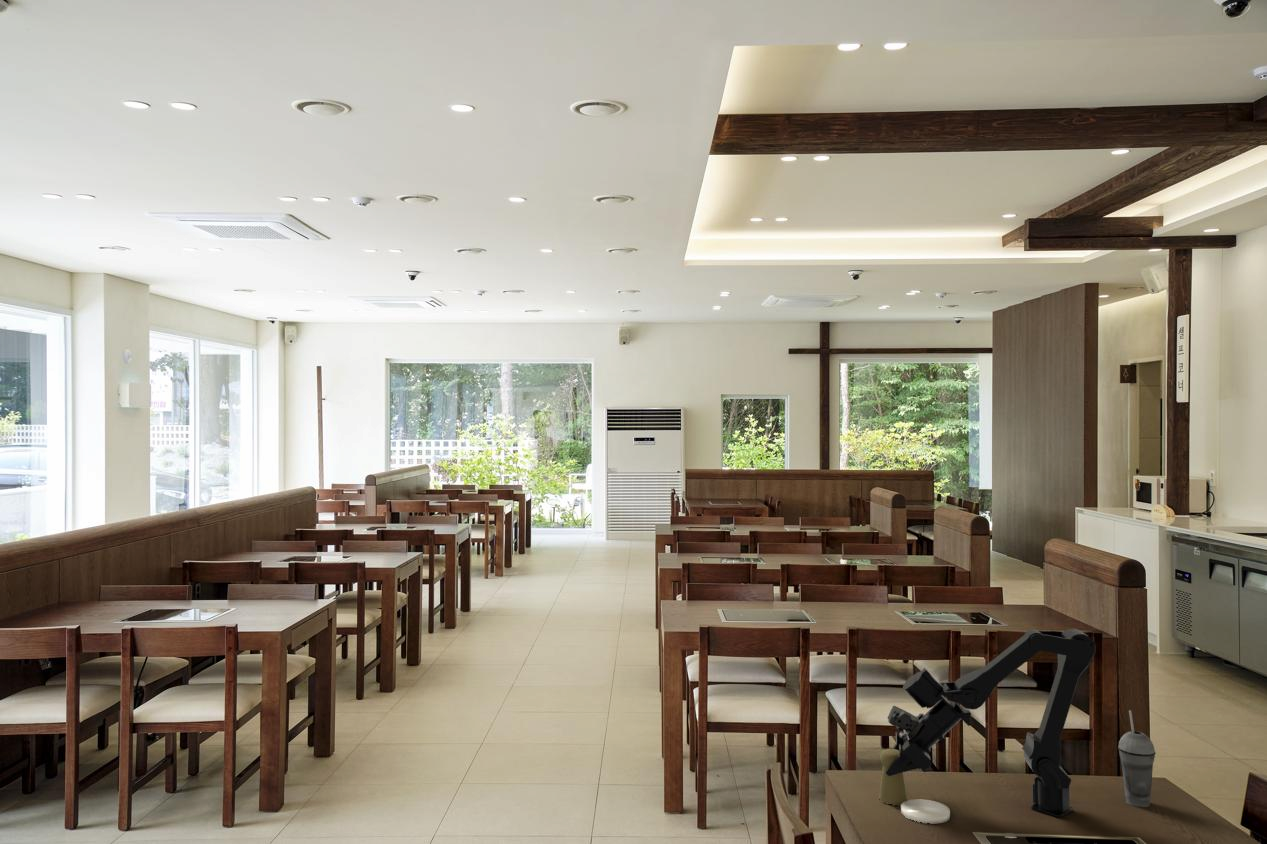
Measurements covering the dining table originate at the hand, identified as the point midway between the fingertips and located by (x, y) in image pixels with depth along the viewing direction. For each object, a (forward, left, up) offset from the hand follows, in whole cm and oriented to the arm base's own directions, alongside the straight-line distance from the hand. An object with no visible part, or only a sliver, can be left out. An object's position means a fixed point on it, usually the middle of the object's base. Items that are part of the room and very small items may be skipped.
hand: (886, 770), depth 203 cm
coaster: (-10, 0, -7) cm, 12 cm away
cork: (-1, -1, -7) cm, 7 cm away
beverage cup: (-36, -41, -7) cm, 55 cm away
